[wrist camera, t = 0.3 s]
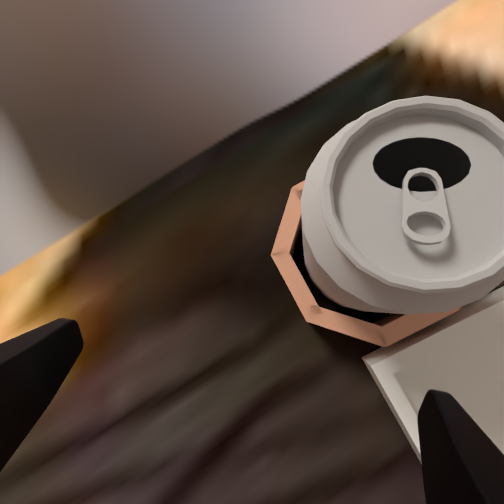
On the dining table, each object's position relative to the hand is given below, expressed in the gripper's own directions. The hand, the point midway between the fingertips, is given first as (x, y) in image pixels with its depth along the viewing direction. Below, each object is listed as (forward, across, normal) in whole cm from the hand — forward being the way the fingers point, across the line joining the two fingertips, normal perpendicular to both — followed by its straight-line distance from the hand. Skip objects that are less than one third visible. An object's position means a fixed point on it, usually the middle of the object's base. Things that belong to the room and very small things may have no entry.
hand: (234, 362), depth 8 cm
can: (+14, -5, +4) cm, 16 cm away
